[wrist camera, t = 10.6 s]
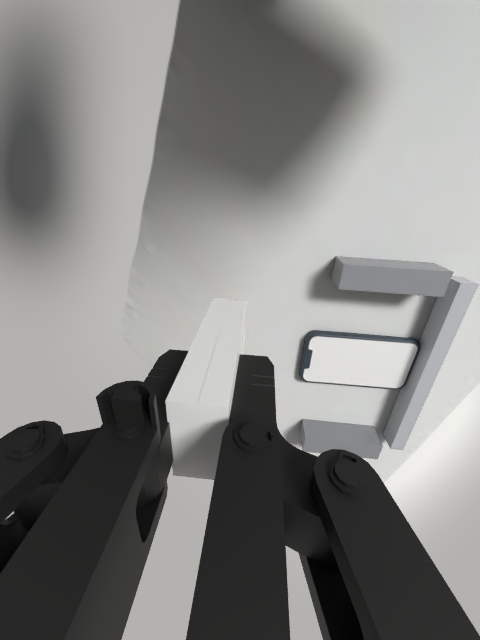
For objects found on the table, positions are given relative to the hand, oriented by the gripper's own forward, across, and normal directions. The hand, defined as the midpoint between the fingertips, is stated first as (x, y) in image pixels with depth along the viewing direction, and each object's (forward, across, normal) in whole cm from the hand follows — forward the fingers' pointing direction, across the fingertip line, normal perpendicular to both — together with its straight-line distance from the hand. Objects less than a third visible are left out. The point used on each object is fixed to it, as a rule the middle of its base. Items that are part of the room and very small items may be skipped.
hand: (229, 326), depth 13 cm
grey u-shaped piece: (+24, +19, -17) cm, 35 cm away
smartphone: (+25, +16, -17) cm, 34 cm away
